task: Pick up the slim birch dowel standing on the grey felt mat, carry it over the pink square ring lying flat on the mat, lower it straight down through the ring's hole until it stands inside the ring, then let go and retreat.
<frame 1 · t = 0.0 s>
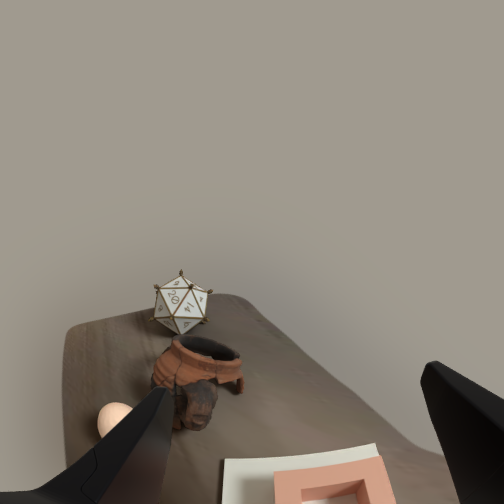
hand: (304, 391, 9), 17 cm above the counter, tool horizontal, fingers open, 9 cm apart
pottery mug: (200, 406, 28), on the counter
game die: (186, 330, 41), on the counter
egg: (132, 446, 22), on the counter
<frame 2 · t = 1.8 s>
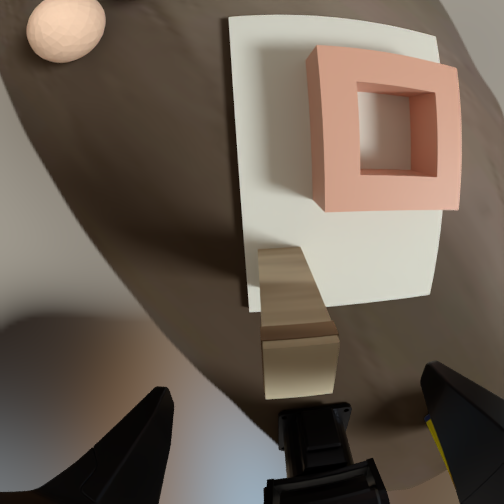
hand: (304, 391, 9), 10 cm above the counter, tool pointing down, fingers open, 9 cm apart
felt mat: (351, 163, 16), on the counter
dowel: (279, 267, 18), resting on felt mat
egg: (89, 38, 13), on the counter
pink square ring: (377, 130, 15), resting on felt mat
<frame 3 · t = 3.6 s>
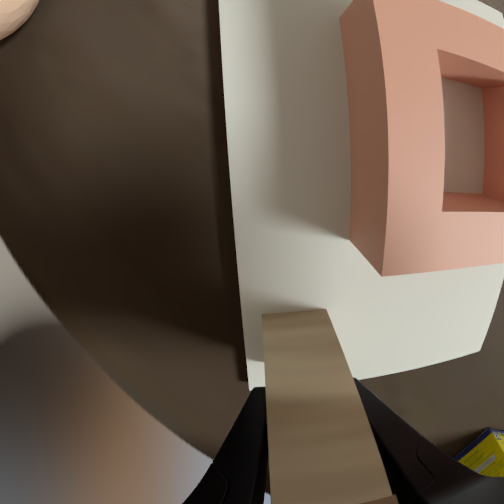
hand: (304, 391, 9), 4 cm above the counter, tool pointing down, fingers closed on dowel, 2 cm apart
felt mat: (407, 182, 10), on the counter
supplement box: (476, 445, 19), on the counter
dowel: (294, 337, 12), resting on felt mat, touching gripper
egg: (28, 11, 7), on the counter
pink square ring: (445, 133, 9), resting on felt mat
when the fingers open (4 cm above the counter, at t = 6.6 s): dowel stays where it is, resting on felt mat.
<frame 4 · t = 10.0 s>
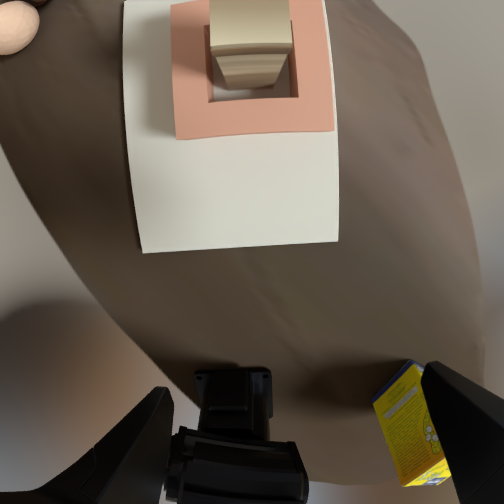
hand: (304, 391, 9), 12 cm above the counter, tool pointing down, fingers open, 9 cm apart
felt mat: (228, 104, 17), on the counter
supplement box: (406, 384, 25), on the counter
dowel: (250, 70, 16), resting on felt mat
egg: (32, 34, 14), on the counter
pink square ring: (250, 71, 16), resting on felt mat
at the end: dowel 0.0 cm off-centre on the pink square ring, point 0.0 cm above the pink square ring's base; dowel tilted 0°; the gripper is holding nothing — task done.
